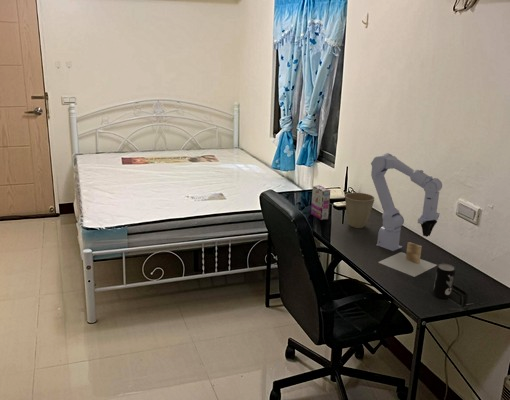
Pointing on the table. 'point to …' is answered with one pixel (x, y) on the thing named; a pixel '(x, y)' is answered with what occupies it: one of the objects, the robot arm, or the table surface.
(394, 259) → the rubber mat
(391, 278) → the table surface
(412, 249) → the wood tile
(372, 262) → the table surface
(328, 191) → the candy bar box
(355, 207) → the plant pot
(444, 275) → the beverage can
